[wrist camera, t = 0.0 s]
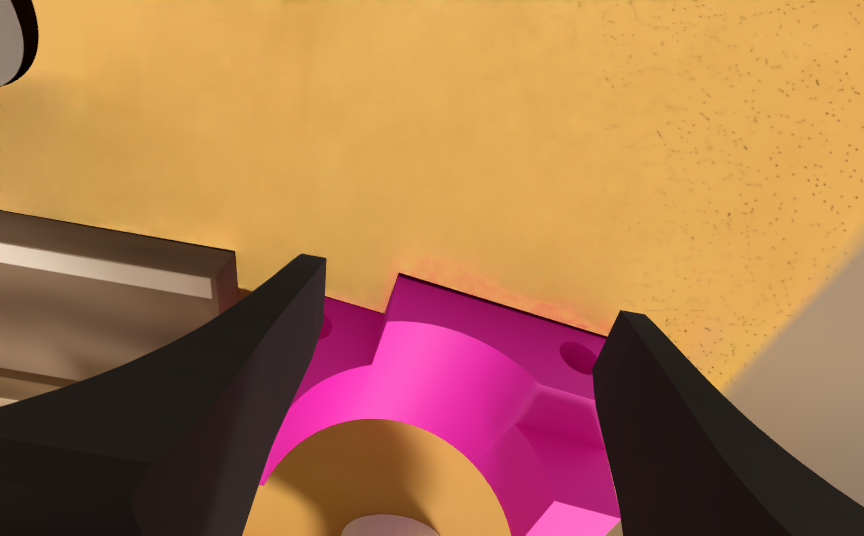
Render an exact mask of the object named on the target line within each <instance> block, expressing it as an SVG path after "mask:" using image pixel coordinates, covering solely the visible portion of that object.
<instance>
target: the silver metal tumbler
mask: <svg viewBox="0 0 864 536" xmlns="http://www.w3.org/2000/svg"><path fill="white" fill-rule="evenodd" d="M38 41H39V31H38V22H37V17H36V12H35V9H34V5H33V2H32V0H0V87H2V86H5V85H8V84H11V83H13V82H15V81H16V80H18V79H19V78H20V77H22V76H23V75H24V74H25V73H26V72H27V71H28V70H29V68H30V67H31V65H32V64H33V62H34V59H35V57H36V53H37V49H38Z"/></svg>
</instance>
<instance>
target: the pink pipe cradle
mask: <svg viewBox="0 0 864 536" xmlns="http://www.w3.org/2000/svg"><path fill="white" fill-rule="evenodd" d="M606 339H607V336H604V335H600V334H597V333H594V332H591V331H587V330H584V329H581V328H578V327H574V326H571V325H568V324H565V323H561V322H558V321H555V320H552V319H548V318H545V317H542V316H539V315H535V314H532V313H529V312H526V311H522V310H519V309H516V308H513V307H509V306H506V305H503V304H500V303H496V302H493V301H490V300H487V299H483V298H480V297H477V296H474V295H470V294H467V293H464V292H461V291H457V290H454V289H451V288H448V287H444V286H441V285H438V284H435V283H431V282H428V281H425V280H422V279H418V278H415V277H412V276H409V275H405V274H402V273H398V276H397V279H396V282H395V285H394V288H393V291H392V293H391V296H390V299H389V302H388V305H387V308H386V311H385V314H384V313H380V312H377V311H374V310H370V309H367V308H364V307H360V306H357V305H354V304H350V303H347V302H344V301H340V300H337V299H334V298H330V297H327V296H325V301H324V323H323V326H322V329H321V332H320V336H319V339H318V342H317V345H316V348H315V351H314V354H313V358H312V360H311V362H310V364H309V367H308V369H307V371H306V373H305V375H304V378H303V380H302V382H301V384H300V386H299V388H298V391H297V393H296V395H295V397H294V399H293V401H292V404H291V406H290V408H289V410H288V412H287V414H286V417H285V419H284V421H283V423H282V425H281V427H280V429H279V432H278V434H277V436H276V439H275V441H274V444H273V446H272V448H271V451H270V454H269V456H268V459H267V462H266V465H265V468H264V471H263V474H262V477H261V480H260V483H259V485H263V486H264V484H265V482H266V481H267V479H268V477H269V476H270V474H271V473H272V471H273V470H274V469H275V467H276V466H277V465H278V463H279V462H280V461H281V460H282V459H283V458H284V457H285V456H286V454H287V453H288V452H289V451H291V450H292V449H293V448H294V447H295V446H296V445H298V444H299V443H300V442H302V441H303V440H305V439H306V438H307V437H309V436H311V435H313V434H314V433H316V432H318V431H320V430H322V429H325V428H327V427H329V426H332V425H335V424H339V423H342V422H346V421H351V420H358V419H387V420H394V421H399V422H404V423H407V424H411V425H414V426H417V427H419V428H422V429H424V430H427V431H429V432H431V433H433V434H435V435H437V436H438V437H440V438H442V439H443V440H445V441H447V442H448V443H449V444H451V445H452V446H454V447H455V448H456V449H457V450H459V451H460V452H461V453H462V454H463V455H465V456H466V457H467V458H468V459H469V460H470V461H471V462H472V463H473V464H474V466H475V467H476V468H477V469H478V470H479V471H480V473H481V474H482V475H483V476H484V478H485V479H486V481H487V482H488V483H489V485H490V486H491V488H492V490H493V491H494V493H495V495H496V496H497V498H498V500H499V503H500V505H501V507H502V509H503V511H504V514H505V516H506V519H507V522H508V525H509V528H510V532H511V536H605V535H606V534H607V533H608V532H609V531H610V530H611V529H612V528H613V527H614V526H615V525H616V524H617V523H618V522H619V521H620V520H621V516H620V510H619V506H618V502H617V497H616V493H615V489H614V484H613V480H612V476H611V471H610V467H609V463H608V458H607V454H606V450H605V445H604V441H603V437H602V433H601V428H600V424H599V420H598V415H597V411H596V406H595V397H594V388H593V375H592V368H593V366H594V364H595V362H596V360H597V358H598V356H599V354H600V352H601V350H602V347H603V345H604V343H605V341H606Z"/></svg>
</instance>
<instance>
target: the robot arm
mask: <svg viewBox="0 0 864 536" xmlns="http://www.w3.org/2000/svg"><path fill="white" fill-rule="evenodd" d="M325 280H326V258H323V257H317V256H312V255H306V254H300V255H299V256H297V257H296V258H295V259H293V260H292V261H291V262H290V263H288V264H287V265H286V266H285V267H283V268H282V269H281V270H280V271H279V272H277V273H276V274H275V275H274V276H272V277H271V278H270V279H268V280H267V281H266V282H265V283H263V284H262V285H261V286H259V287H258V288H257V289H255V290H254V291H253V292H251V293H250V294H249V295H247V296H246V297H245V298H243V299H242V300H240V301H239V302H238V303H236V304H235V305H233V306H232V307H230V308H229V309H227V310H226V311H224V312H223V313H221V314H220V315H218V316H217V317H215V318H214V319H212V320H210V321H209V322H207V323H206V324H204V325H202V326H201V327H199V328H197V329H196V330H194V331H192V332H190V333H188V334H186V335H185V336H183V337H181V338H179V339H177V340H175V341H173V342H171V343H169V344H168V345H165V346H163V347H161V348H159V349H157V350H155V351H152V352H150V353H148V354H146V355H144V356H142V357H139V358H137V359H135V360H133V361H131V362H128V363H126V364H124V365H121V366H119V367H116V368H114V369H111V370H109V371H106V372H104V373H101V374H99V375H96V376H93V377H91V378H88V379H85V380H82V381H80V382H77V383H74V384H71V385H68V386H65V387H62V388H60V389H57V390H53V391H50V392H47V393H43V394H40V395H37V396H34V397H30V398H27V399H24V400H21V401H17V402H14V403H11V404H7V405H4V406H0V536H242V534H243V531H244V528H245V525H246V522H247V519H248V516H249V513H250V510H251V507H252V504H253V501H254V497H255V494H256V491H257V488H258V486H259V483H260V480H261V477H262V474H263V471H264V468H265V465H266V462H267V459H268V456H269V454H270V451H271V448H272V446H273V444H274V441H275V439H276V436H277V434H278V432H279V429H280V427H281V425H282V423H283V421H284V419H285V417H286V414H287V412H288V410H289V408H290V406H291V404H292V401H293V399H294V397H295V395H296V393H297V391H298V388H299V386H300V384H301V382H302V380H303V378H304V375H305V373H306V371H307V369H308V367H309V364H310V362H311V360H312V358H313V354H314V351H315V348H316V345H317V342H318V339H319V336H320V332H321V329H322V326H323V323H324V301H325ZM592 375H593V388H594V397H595V406H596V411H597V415H598V420H599V424H600V428H601V433H602V437H603V441H604V445H605V449H606V453H607V457H608V461H609V465H610V469H611V473H612V477H613V481H614V486H615V490H616V494H617V499H618V504H619V509H620V516H621V523H622V531H623V536H864V507H863V506H861V505H860V504H858V503H857V502H855V501H854V500H852V499H851V498H849V497H848V496H847V495H845V494H844V493H842V492H841V491H839V490H838V489H836V488H835V487H833V486H832V485H831V484H829V483H828V482H827V481H825V480H824V479H823V478H821V477H820V476H818V475H817V474H816V473H814V472H813V471H812V470H810V469H809V468H808V467H806V466H805V465H804V464H802V463H801V462H800V461H798V460H797V459H796V458H794V457H793V456H792V455H791V454H789V453H788V452H787V451H785V450H784V449H783V448H782V447H780V446H779V445H778V444H777V443H776V442H775V441H773V440H772V439H771V438H770V437H769V436H767V435H766V434H765V433H764V432H763V431H762V430H760V429H759V428H758V427H757V426H756V425H755V424H753V423H752V422H751V421H750V420H749V419H748V418H747V417H746V416H744V415H743V414H742V413H741V412H740V411H739V410H738V409H737V408H736V407H735V406H734V405H733V404H732V403H731V402H730V401H729V400H728V399H726V398H725V397H724V396H723V395H722V394H721V393H720V392H719V391H718V390H717V389H716V388H715V387H714V386H713V385H712V384H711V383H710V382H709V381H708V380H707V379H706V378H705V377H704V376H703V375H702V374H701V373H700V371H699V370H698V369H697V368H696V367H695V366H694V365H693V364H692V363H691V362H690V361H689V360H688V359H687V358H686V357H685V356H684V355H683V353H682V352H681V351H680V350H679V349H678V348H677V347H676V346H675V345H674V344H673V343H672V342H671V341H670V339H669V338H668V337H667V336H666V335H665V334H664V333H663V332H662V331H661V330H660V329H659V328H658V327H657V326H656V325H655V324H654V323H653V322H652V321H651V320H650V319H649V318H648V317H647V316H646V315H645V314H639V313H634V312H628V311H622V310H620V312H619V314H618V316H617V318H616V320H615V322H614V324H613V327H612V329H611V331H610V333H609V335H608V337H607V339H606V341H605V343H604V345H603V347H602V350H601V352H600V354H599V356H598V358H597V360H596V362H595V364H594V366H593V368H592ZM341 536H440V535H439V534H438V533H437V532H436V531H435V530H434V529H432V528H431V527H429V526H428V525H426V524H424V523H422V522H419V521H417V520H414V519H411V518H408V517H403V516H398V515H389V514H376V515H368V516H364V517H360V518H358V519H355V520H353V521H351V522H350V523H349V524H347V525H346V526H345V528H344V529H343V531H342V534H341Z"/></svg>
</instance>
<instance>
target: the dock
mask: <svg viewBox="0 0 864 536" xmlns="http://www.w3.org/2000/svg"><path fill="white" fill-rule="evenodd" d="M238 302H239V294H238V281H237V269H236V256H235V251H232V250H226V249H220V248H215V247H209V246H203V245H197V244H192V243H186V242H180V241H175V240H169V239H163V238H157V237H152V236H146V235H140V234H135V233H129V232H123V231H117V230H112V229H106V228H100V227H95V226H89V225H83V224H77V223H72V222H66V221H60V220H55V219H49V218H43V217H37V216H32V215H26V214H20V213H14V212H9V211H3V210H0V368H6V369H11V370H17V371H23V372H29V373H35V374H41V375H47V376H53V377H59V378H65V379H71V380H77V381H82V380H85V379H88V378H91V377H93V376H96V375H99V374H101V373H104V372H106V371H109V370H111V369H114V368H116V367H119V366H121V365H124V364H126V363H128V362H131V361H133V360H135V359H137V358H139V357H142V356H144V355H146V354H148V353H150V352H152V351H155V350H157V349H159V348H161V347H163V346H165V345H168V344H169V343H171V342H173V341H175V340H177V339H179V338H181V337H183V336H185V335H186V334H188V333H190V332H192V331H194V330H196V329H197V328H199V327H201V326H202V325H204V324H206V323H207V322H209V321H210V320H212V319H214V318H215V317H217V316H218V315H220V314H221V313H223V312H224V311H226V310H227V309H229V308H230V307H232V306H233V305H235V304H236V303H238Z"/></svg>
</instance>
